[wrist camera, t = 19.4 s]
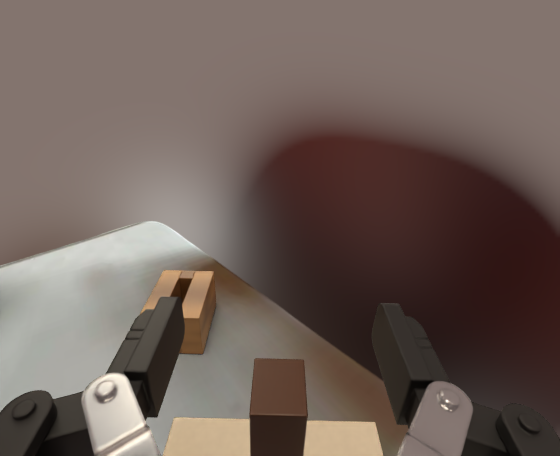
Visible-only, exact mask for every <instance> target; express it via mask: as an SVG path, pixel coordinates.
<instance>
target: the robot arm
mask: <svg viewBox="0 0 560 456" xmlns="http://www.w3.org/2000/svg"><path fill="white" fill-rule="evenodd" d="M184 334H185V322H184V315H183V308H182V301H181V298H180V297H163V296H162V297H160V298H159V300H158V302H157V304H156V306H155V308H154V309H146V310H145V311H144V312H142V313H141V314H140V315H139V316H138V317H137V318H136V319H135V321H134V323H133V325H132V326H131V328H130V331H129V332H128V334H127V336H126V337H125V340H124V341H123V343H122V345H121V347H120V348H119V350H118V352H117V354H116V356H115V358H114V360H113V361H112V363H111V365H110V367H109V369H108V371H107V372H106V374H105V375H102V376H100V377H98V378H97V379H95V380H94V381H92V382H91V383H90V384H89V385H88V386H87V387H86V389H85V390H84V391H82V392H79V393H76V394H72V395H68V396H64V397H60V398H57V399H52V396H51V395H50V394H49V393H48V392H46V391H42V390H37V391H31V392H28V393H25V394H23V395H21V396H19V397H17V398H15V399H14V400H12V401H11V402H10V403H9V404H7V405H6V406H5V407H4V408H3V410H2V411H1V412H0V456H161V454H160V452H159V449H158V447H157V445H156V442H155V440H154V437H153V435H152V432H151V430H150V428H149V426H147V424H146V422H145V421H146V418H147V417H157V416H158V413H159V411H160V408H161V405H162V402H163V399H164V396H165V393H166V390H167V387H168V384H169V381H170V378H171V375H172V372H173V369H174V366H175V363H176V360H177V358H178V355H179V352H180V349H181V346H182V343H183V340H184ZM372 343H373V348H374V351H375V354H376V357H377V361H378V364H379V367H380V371H381V374H382V377H383V380H384V384H385V387H386V390H387V393H388V397H389V400H390V403H391V407H392V410H393V413H394V416H395V420H396V423H397V424H400V425H408V428H409V430H408V432H407V433H406V435H405V437H404V440H403V442H402V444H401V447H400V449H399V451H398V454H397V456H560V439H559V437H558V435H557V434H556V432H555V431H554V429H553V427H552V426H551V425H550V423H549V422H548V421H547V420H546V419H545V418H544V417H543V416H541V415H540V414H539V413H538V412H536V411H535V410H533V409H531V408H529V407H527V406H524V405H521V404H516V403H514V404H513V403H512V404H508V405H506V406H505V407H504V408H503V410H502V411H498V410H495V409H492V408H488V407H485V406H482V405H479V404H476V403H474V402H472V401H470V399H469V398H468V396H467V395H466V394H465V393H464V392H463V391H462V390H461V389H459V388H458V387H457V386H455V385H453V384H451V383H450V381H449V379H448V377H447V375H446V373H445V371H444V369H443V367H442V365H441V363H440V361H439V359H438V357H437V355H436V353H435V351H434V349H432V345H431V343H430V341H429V340H428V337H427V335H426V333H425V331H424V329H423V327H422V326H421V325H420V324H419V323H418V322H417V321H416V320H415V319H414V318H413V317H405V315H404V313H403V311H402V309H401V307H400V305H399V304H393V303H392V304H391V303H379V305H378V308H377V312H376V316H375V321H374V325H373V330H372Z"/></svg>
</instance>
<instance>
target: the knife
mask: <svg viewBox="0 0 560 456" xmlns="http://www.w3.org/2000/svg"><path fill="white" fill-rule="evenodd" d="M249 418H250V456H303V455H304V446H305V437H306V427H307V418H308V412H307V397H306V383H305V368H304V360H298V359H260V358H256V359H255V360H254V370H253V381H252V392H251V403H250V413H249Z"/></svg>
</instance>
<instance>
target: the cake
mask: <svg viewBox="0 0 560 456" xmlns="http://www.w3.org/2000/svg"><path fill="white" fill-rule="evenodd" d="M163 456H250V419H221V418H179V417H175V418H174V419H173V423H172V426H171V429H170V433H169V436H168V439H167V443H166V446H165V449H164V453H163ZM303 456H383V452H382V448H381V444H380V440H379V436H378V432H377V428H376V424H375V422H348V421H307V427H306V437H305V446H304V455H303Z"/></svg>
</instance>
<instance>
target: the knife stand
mask: <svg viewBox="0 0 560 456" xmlns="http://www.w3.org/2000/svg"><path fill="white" fill-rule="evenodd" d="M162 296H163V297H180V298H181V301H182V308H183V315H184V322H185V334H184V340H183V343H182V346H181V349H180V352H179V353H188V354H203V352H204V348H205V345H206V341H207V337H208V333H209V329H210V326H211V322H212V318H213V314H214V310H215V307H216V294H215V281H214V272H213V271H175V270H164V271H163V273H162V275H161V276H160V278H159V280H158V282H157V284H156V286H155V287H154V289H153V291H152V293H151V295H150V297H149V299H148V300H147V302H146V304H145V306H144V308H143V310H142V311H141V313H142V312H144V311H145V310H146V309H154V308H155V306H156V304H157V302H158V300H159V298H160V297H162ZM141 313H140V314H141Z"/></svg>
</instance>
